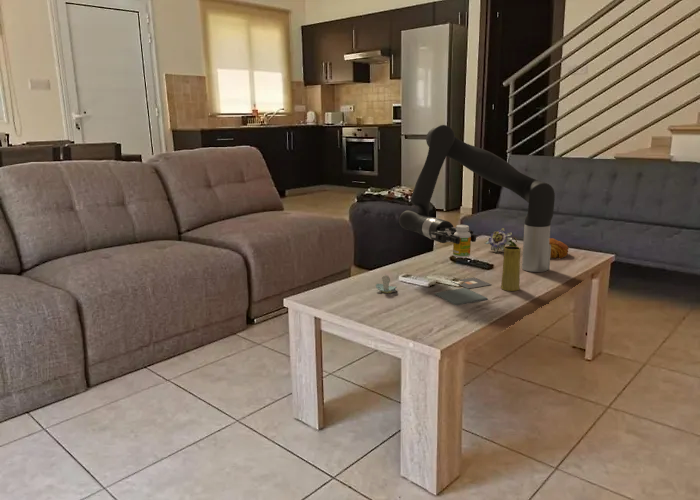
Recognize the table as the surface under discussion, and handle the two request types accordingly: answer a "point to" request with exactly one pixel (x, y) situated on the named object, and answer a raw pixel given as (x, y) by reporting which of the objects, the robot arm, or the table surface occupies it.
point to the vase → (511, 269)
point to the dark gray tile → (473, 283)
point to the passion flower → (500, 240)
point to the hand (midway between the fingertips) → (466, 239)
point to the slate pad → (460, 296)
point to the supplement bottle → (462, 242)
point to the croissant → (558, 249)
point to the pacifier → (386, 285)
